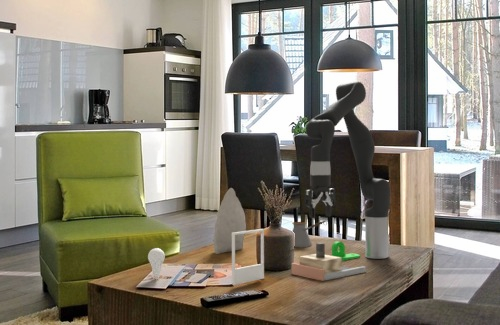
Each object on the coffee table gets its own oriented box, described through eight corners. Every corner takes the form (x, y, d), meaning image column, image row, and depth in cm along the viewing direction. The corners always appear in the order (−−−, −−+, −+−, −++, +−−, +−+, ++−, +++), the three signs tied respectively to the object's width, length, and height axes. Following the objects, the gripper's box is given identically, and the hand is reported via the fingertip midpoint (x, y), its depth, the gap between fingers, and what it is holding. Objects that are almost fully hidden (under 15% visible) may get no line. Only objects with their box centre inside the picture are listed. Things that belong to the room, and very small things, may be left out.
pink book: (334, 265, 244) (334, 255, 244) (365, 271, 232) (365, 261, 231) (291, 273, 229) (291, 263, 229) (322, 280, 216) (322, 269, 216)
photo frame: (261, 278, 222) (261, 228, 221) (264, 278, 221) (263, 229, 221) (231, 284, 212) (231, 232, 211) (233, 284, 211) (233, 233, 211)
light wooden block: (318, 268, 235) (318, 240, 235) (341, 273, 226) (341, 244, 225) (299, 272, 228) (299, 243, 228) (323, 277, 219) (322, 247, 219)
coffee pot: (281, 250, 282) (281, 218, 281) (298, 247, 290) (298, 216, 289) (317, 256, 266) (317, 221, 266) (333, 252, 274) (333, 219, 274)
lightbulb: (167, 277, 224) (167, 247, 224) (160, 280, 218) (159, 250, 218) (153, 276, 226) (152, 246, 226) (145, 279, 220) (144, 249, 220)
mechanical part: (341, 263, 251) (341, 243, 251) (331, 260, 256) (331, 241, 256) (362, 259, 258) (362, 241, 258) (352, 257, 263) (352, 239, 263)
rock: (220, 259, 259) (220, 189, 258) (206, 257, 265) (206, 188, 264) (252, 254, 273) (252, 187, 272) (237, 251, 279) (237, 186, 278)
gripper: (326, 172, 234) (326, 215, 234) (299, 173, 225) (299, 217, 225) (340, 173, 228) (340, 216, 228) (314, 174, 219) (314, 219, 219)
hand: (320, 217), depth 227 cm, fingers open, 8 cm apart
